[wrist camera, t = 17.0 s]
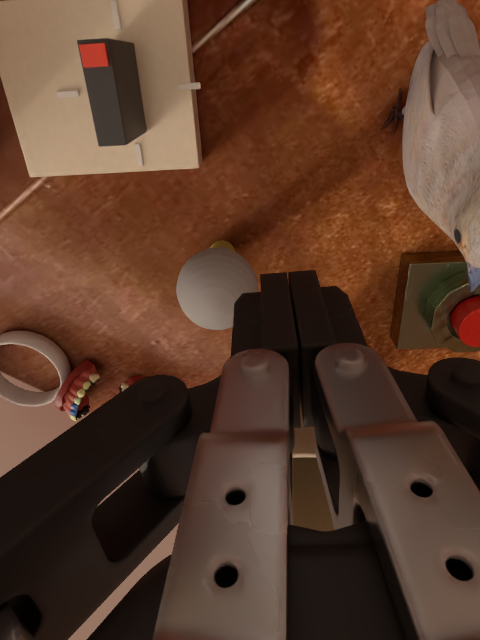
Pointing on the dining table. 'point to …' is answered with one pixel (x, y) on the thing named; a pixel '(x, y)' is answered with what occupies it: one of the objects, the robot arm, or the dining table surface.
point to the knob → (113, 90)
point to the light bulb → (214, 285)
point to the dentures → (81, 390)
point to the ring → (48, 349)
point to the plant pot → (308, 484)
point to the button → (467, 321)
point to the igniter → (430, 301)
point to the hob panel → (71, 93)
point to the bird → (446, 129)
